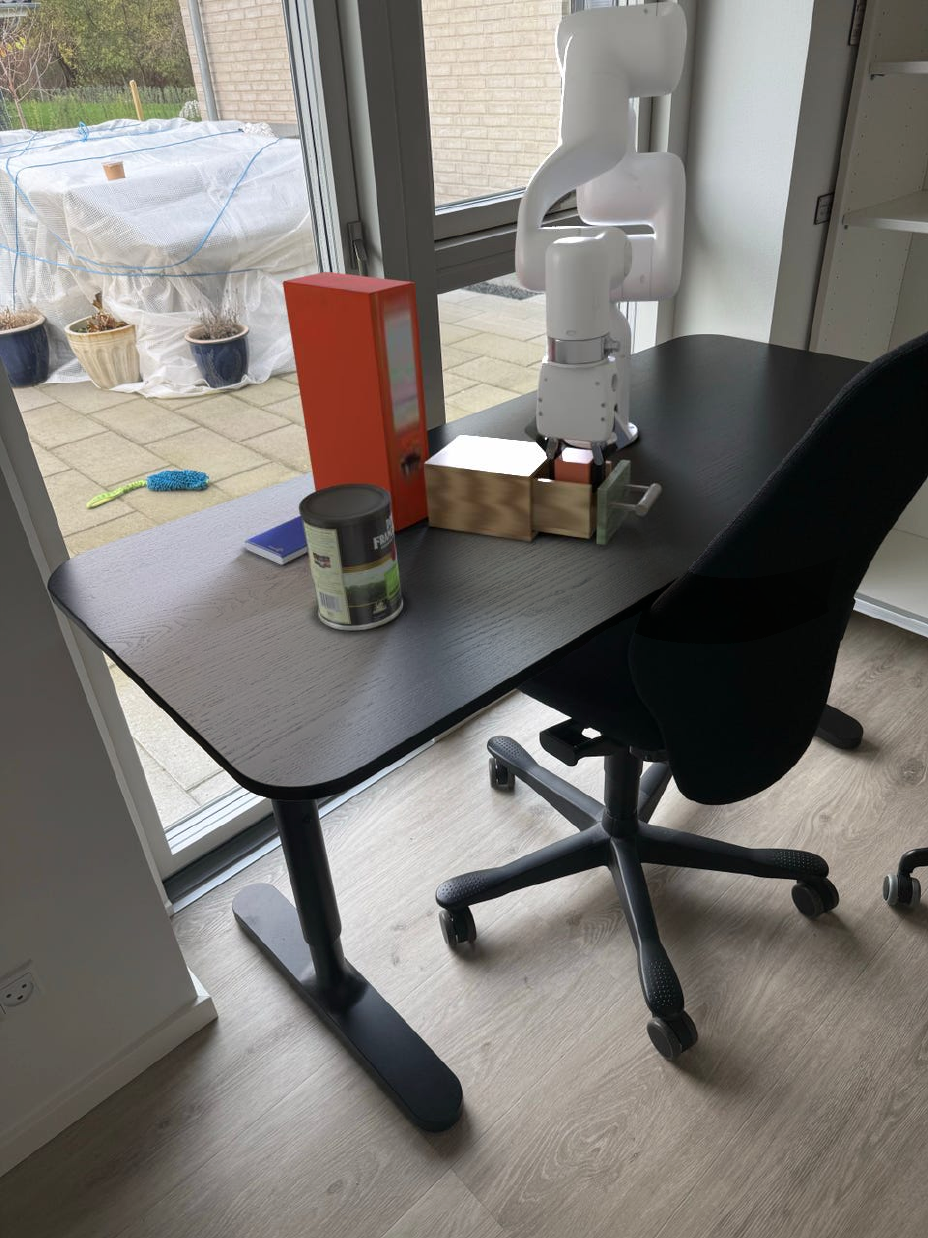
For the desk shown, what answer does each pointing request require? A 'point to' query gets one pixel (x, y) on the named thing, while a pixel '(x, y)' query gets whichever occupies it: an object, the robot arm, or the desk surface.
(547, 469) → the drawer
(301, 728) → the desk surface
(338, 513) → the coffee can
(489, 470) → the cabinet
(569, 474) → the block
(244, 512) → the desk surface
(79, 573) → the desk surface
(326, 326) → the file binder
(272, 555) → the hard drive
